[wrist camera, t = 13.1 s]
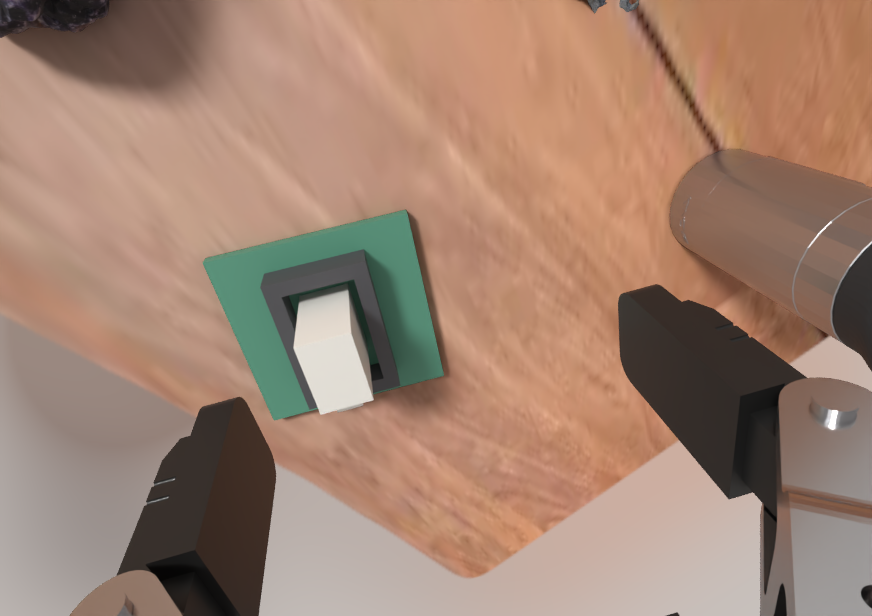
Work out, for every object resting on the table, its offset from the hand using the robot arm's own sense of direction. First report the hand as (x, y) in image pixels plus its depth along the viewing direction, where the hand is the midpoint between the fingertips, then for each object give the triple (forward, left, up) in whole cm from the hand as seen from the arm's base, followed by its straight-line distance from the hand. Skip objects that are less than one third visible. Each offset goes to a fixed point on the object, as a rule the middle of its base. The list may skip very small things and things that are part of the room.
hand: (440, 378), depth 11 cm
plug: (+6, +14, -30) cm, 34 cm away
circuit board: (+6, +15, -31) cm, 35 cm away
